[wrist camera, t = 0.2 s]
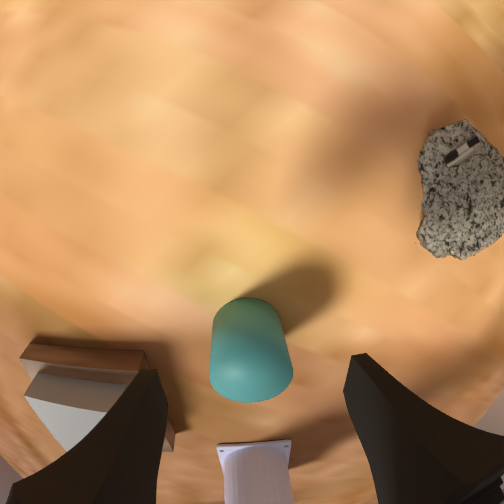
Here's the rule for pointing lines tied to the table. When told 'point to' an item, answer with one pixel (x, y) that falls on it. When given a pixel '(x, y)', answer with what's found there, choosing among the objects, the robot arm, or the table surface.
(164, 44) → the table surface
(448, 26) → the table surface
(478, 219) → the rock sample
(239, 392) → the teal cylinder
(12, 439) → the table surface
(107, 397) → the gray top slab
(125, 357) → the walnut base slab
